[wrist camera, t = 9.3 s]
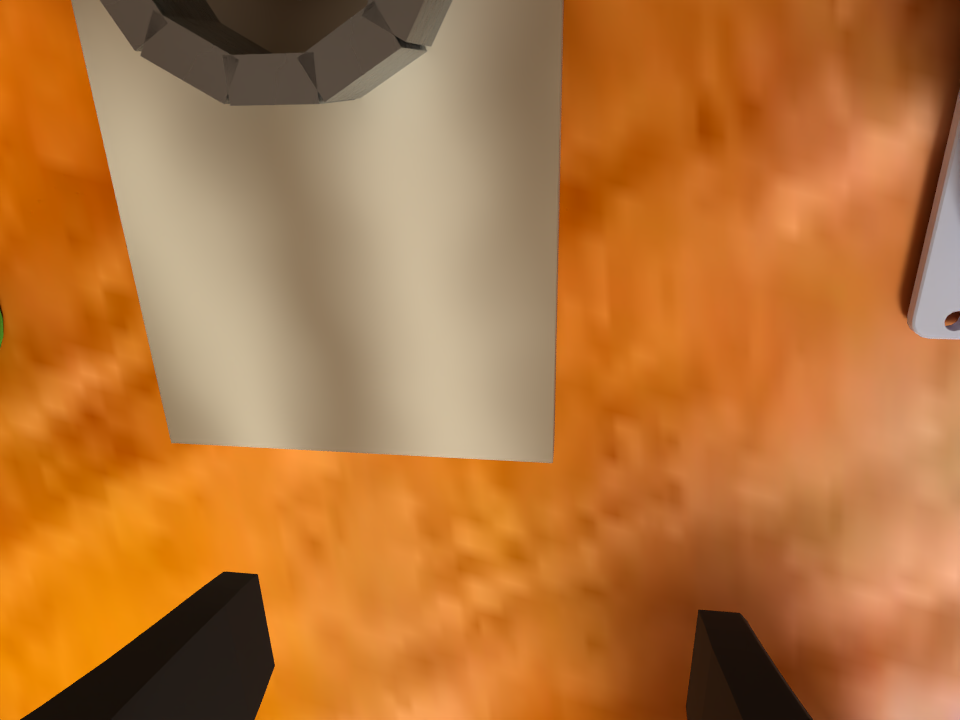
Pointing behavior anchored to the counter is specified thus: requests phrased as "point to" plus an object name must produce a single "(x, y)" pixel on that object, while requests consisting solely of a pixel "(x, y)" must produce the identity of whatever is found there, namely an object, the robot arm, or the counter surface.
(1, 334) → the cup
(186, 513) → the counter surface
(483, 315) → the peg holder
